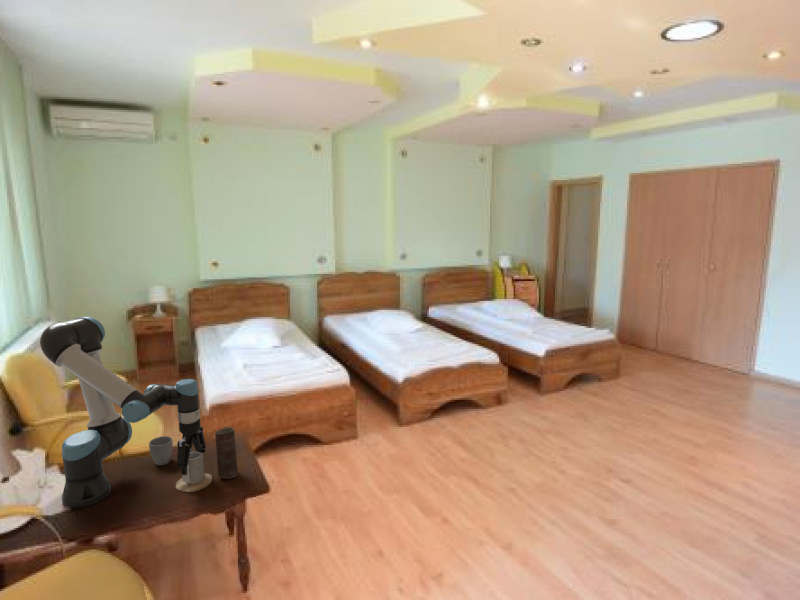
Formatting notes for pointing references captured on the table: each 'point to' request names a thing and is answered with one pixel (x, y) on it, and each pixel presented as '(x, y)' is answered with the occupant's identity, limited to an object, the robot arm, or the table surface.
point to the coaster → (194, 487)
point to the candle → (226, 453)
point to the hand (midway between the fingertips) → (193, 474)
